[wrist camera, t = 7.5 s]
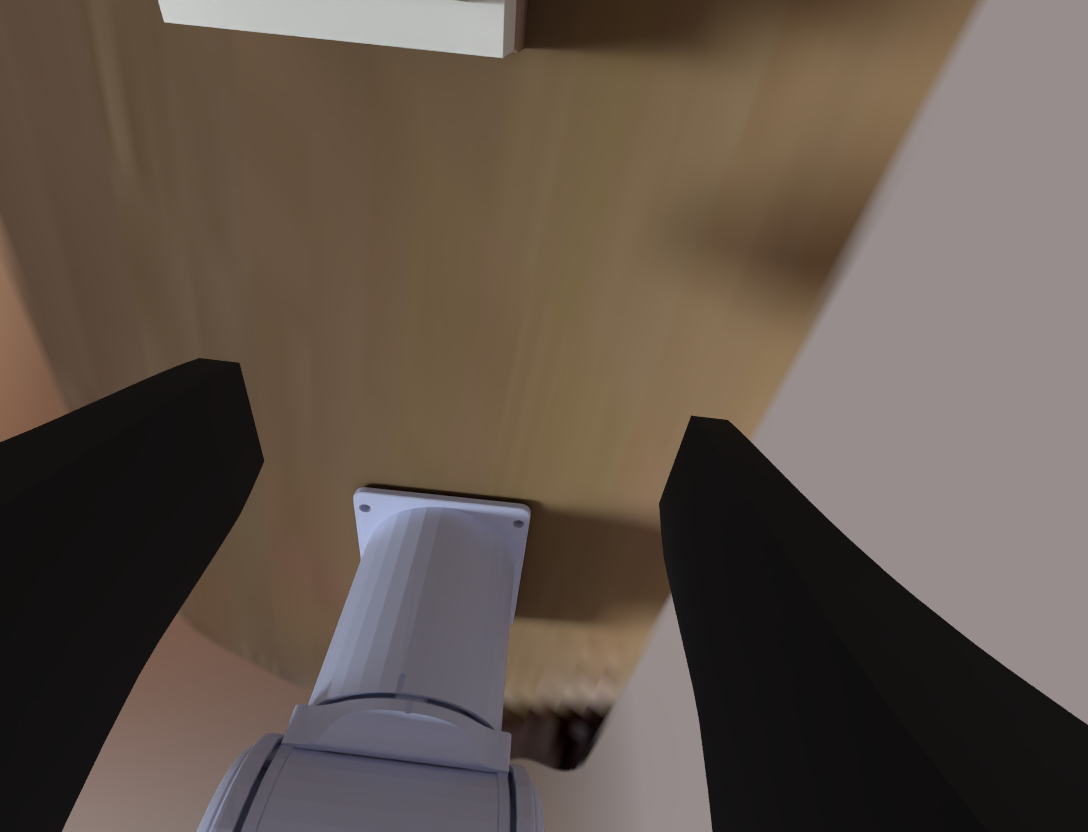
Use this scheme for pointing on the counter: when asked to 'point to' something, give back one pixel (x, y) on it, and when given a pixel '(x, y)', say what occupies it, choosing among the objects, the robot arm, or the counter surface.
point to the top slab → (364, 21)
